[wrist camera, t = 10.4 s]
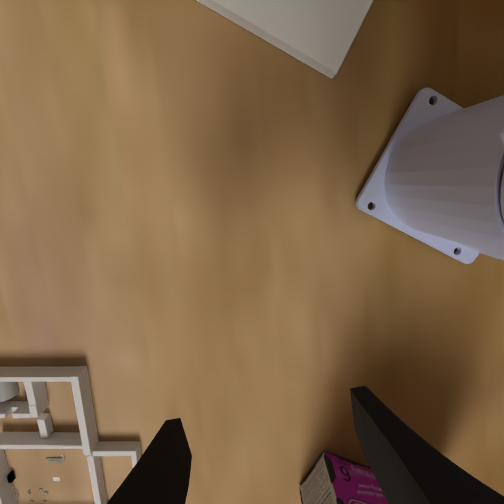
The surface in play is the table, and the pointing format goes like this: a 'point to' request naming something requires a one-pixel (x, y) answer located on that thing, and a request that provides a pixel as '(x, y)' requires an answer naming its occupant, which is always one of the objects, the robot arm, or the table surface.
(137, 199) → the table surface
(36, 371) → the floor plan model
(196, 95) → the table surface
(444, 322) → the table surface
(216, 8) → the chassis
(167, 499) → the robot arm
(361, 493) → the candy bar box
